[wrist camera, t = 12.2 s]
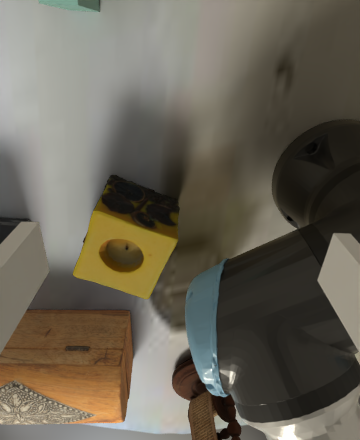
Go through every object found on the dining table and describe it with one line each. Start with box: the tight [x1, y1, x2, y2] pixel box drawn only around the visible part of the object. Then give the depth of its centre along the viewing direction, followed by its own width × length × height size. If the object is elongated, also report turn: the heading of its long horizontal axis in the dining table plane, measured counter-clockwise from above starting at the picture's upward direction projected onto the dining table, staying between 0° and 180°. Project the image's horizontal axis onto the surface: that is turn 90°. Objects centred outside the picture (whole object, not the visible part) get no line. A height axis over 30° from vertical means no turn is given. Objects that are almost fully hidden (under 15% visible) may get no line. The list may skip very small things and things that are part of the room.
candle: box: [73, 175, 180, 299], centre depth 39 cm, size 10×10×10 cm
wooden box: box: [0, 310, 133, 425], centre depth 51 cm, size 30×16×14 cm, turn 88°
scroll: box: [172, 359, 241, 440], centre depth 54 cm, size 15×15×20 cm
